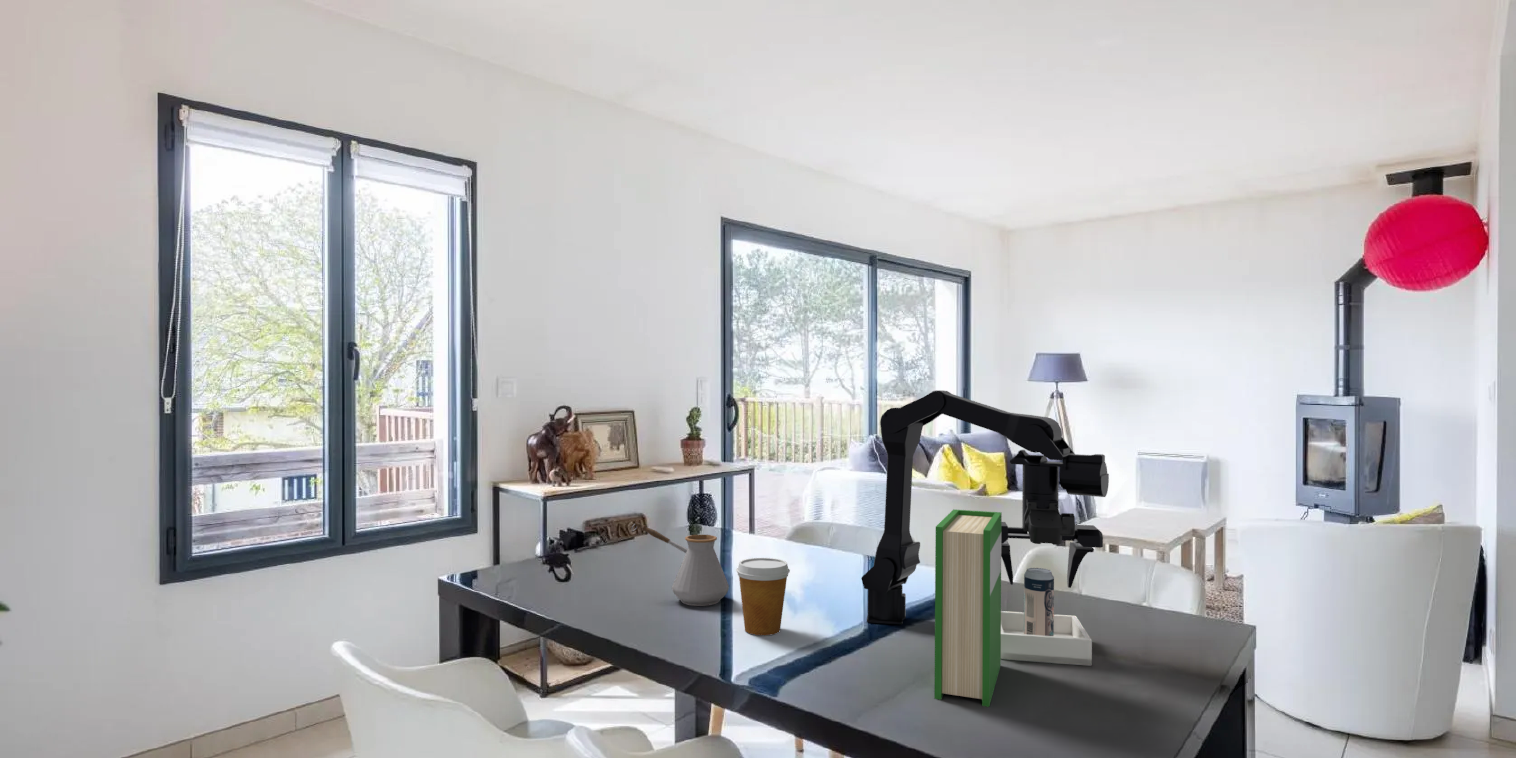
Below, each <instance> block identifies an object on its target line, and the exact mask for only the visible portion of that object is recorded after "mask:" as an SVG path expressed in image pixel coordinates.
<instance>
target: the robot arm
mask: <svg viewBox="0 0 1516 758" xmlns="http://www.w3.org/2000/svg"><path fill="white" fill-rule="evenodd" d="M941 415H944V416H946V417H947V416H948V417H950V418H953V419H956V420H960V421H962V422H965V423H968V424H971V425H975V426H977V427H980V428H982V429H986V430H989V431H992V432H995V433H997V434H999V435H1001V436H1003V437H1005V438H1006V439H1008V441H1010V442H1012V443H1013V444H1015V445H1016V446H1019V447H1021V448H1022V449H1021V450H1018V452H1017V453H1016V455H1015V456H1014V457H1012V458H1011V459H1010V460H1009V464H1010V465H1021V466H1022V493H1021V495H1022V496H1021V497H1022V499H1021V500H1022V501H1021V502H1022V503H1021V504H1022V507H1021V509H1022V511H1021V513H1022V516H1021V517H1022V525H1021V527H1017V526H1016V527H1015V526H1008V524H1007V523H1006V521H1001V560H1002V562H1003V565H1004V569H1005V570H1006V571H1005V572H1006V574H1007V578H1008V582H1009V585H1011V586H1013V585H1014V573H1013V563H1012V555H1011V545H1010V544H1009V542H1008V541H1009V539H1020V540H1022V539H1023V540H1030V543H1032V544H1034V545H1035V544H1036V545H1041V544H1052V545H1054V546H1059V545H1061V544H1062V542H1063V541H1064V542H1065V541H1066V542H1067V541H1069V545H1068V548H1069V549H1068V559H1067V560H1068V561H1067V571H1066V572H1067V574H1066V583H1067V588H1069V589H1071V588H1072V586H1073V584H1074V580H1075V578H1076V575H1077V573H1078V569H1079V568H1080V565H1081V563H1082V561H1083V559H1084V558H1085V556H1087V554H1088V553H1094V552H1095V549H1094V548H1096V549H1097V548H1099V549H1100V548H1103V547H1104V543H1103V542H1104V536H1103V533H1102V531H1101V530H1100V529H1098V528H1097V527H1096V526H1095V525H1091V524H1076V517H1075V514H1074V513H1067V512H1060V510H1059V495H1060V494H1059V486H1060V488H1061V489H1062V490H1065V491H1066V494H1067V495H1074V496H1084V497H1098V498H1106V497H1107V494H1108V490H1109V481H1110V478H1109V477H1110V475H1109V473H1108V466H1107V463H1106V456H1105V454H1103V453H1102V454H1101V453H1097V454H1096V453H1095V454H1076V453H1075V452H1074V451H1073V449H1072V448H1071V447H1070V445H1069V444H1068V443H1067V441H1066V440H1065V439H1064V437H1063V431H1062V427H1061V426H1060V424H1059V422H1058V421H1056V420H1055V419H1053V418H1050V417H1046V416H1041V415H1040V416H1039V415H1034V414H1024V413H1015V412H1009V411H1006V410H1003V409H999V408H997V407H994V406H990V405H987V404H983V403H981V402H978V401H976V400H971V399H969V398H966V397H963V396H959V395H956V394H954V393H951V391H948V390H933V391H930V392H929V393H928V394H926V395H924V396H923V397H921V398H918V399H916V400H913V401H912V402H909V403H907V404H904V405H903V406H901V407H891V408H889V409H887V410H886V411H885V412H883V414H881V417H880V420H879V426H880V433H881V434H880V436H881V440H882V444H883V447H884V448H885V449H884V450H885V452H886V456H887V464H886V465H887V466H886V482H885V485H886V487H885V502H884V503H885V504H884V505H885V508H884V529H883V532H882V536H881V538H880V540H879V542H878V544H877V547H876V552H875V556H874V560H873V566H872V567H870V569H869V570H868V571H866V573H864V575H862V576H861V582H862V586H863V589H864V590H867V617H866V622H867V623H872V624H873V623H876V624H889V625H890V624H891V625H903V621H904V620H905V619H906V614H907V613H906V612H907V611H906V610H907V609H906V605H907V604H906V601H907V599H906V598H907V597H906V593H904V592H903V588H904V587H903V585H905V584H907V582H908V579H909V576H911V575H912V574H914V573H915V571H916V570H917V565H918V564H920V563H921V560H920V555H919V554H920V549H921V542H920V541H914V540H913V537H912V535H911V531H910V530H911V529H910V527H911V525H910V524H911V509H912V508H911V505H912V485H913V484H912V483H913V466H914V465H913V461H914V455H915V452H916V449H917V448H918V446H919V443H920V441H921V436H922V433H923V432H922V431H923V428H924V426H926V425H927V424H930V423H932V422H933V421H934V420H935V419H937V418H939V416H941ZM1027 451H1028V452H1031V453H1034V454H1029V453H1028V452H1027ZM1035 453H1040V454H1041V455H1040V454H1039V455H1038V454H1035ZM1048 460H1049V461H1048ZM1050 460H1051V461H1050ZM1059 461H1060V462H1059ZM1061 461H1062V462H1061Z"/></svg>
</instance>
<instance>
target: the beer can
mask: <svg viewBox="0 0 1516 758" xmlns="http://www.w3.org/2000/svg"><path fill="white" fill-rule="evenodd" d="M1054 610H1055V576H1054V575H1053V573H1052V571H1051V569H1048V568H1042V567H1030V568H1026V571H1024V574H1023V612H1024V634H1029V635H1043V636H1054V613H1055V611H1054Z"/></svg>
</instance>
